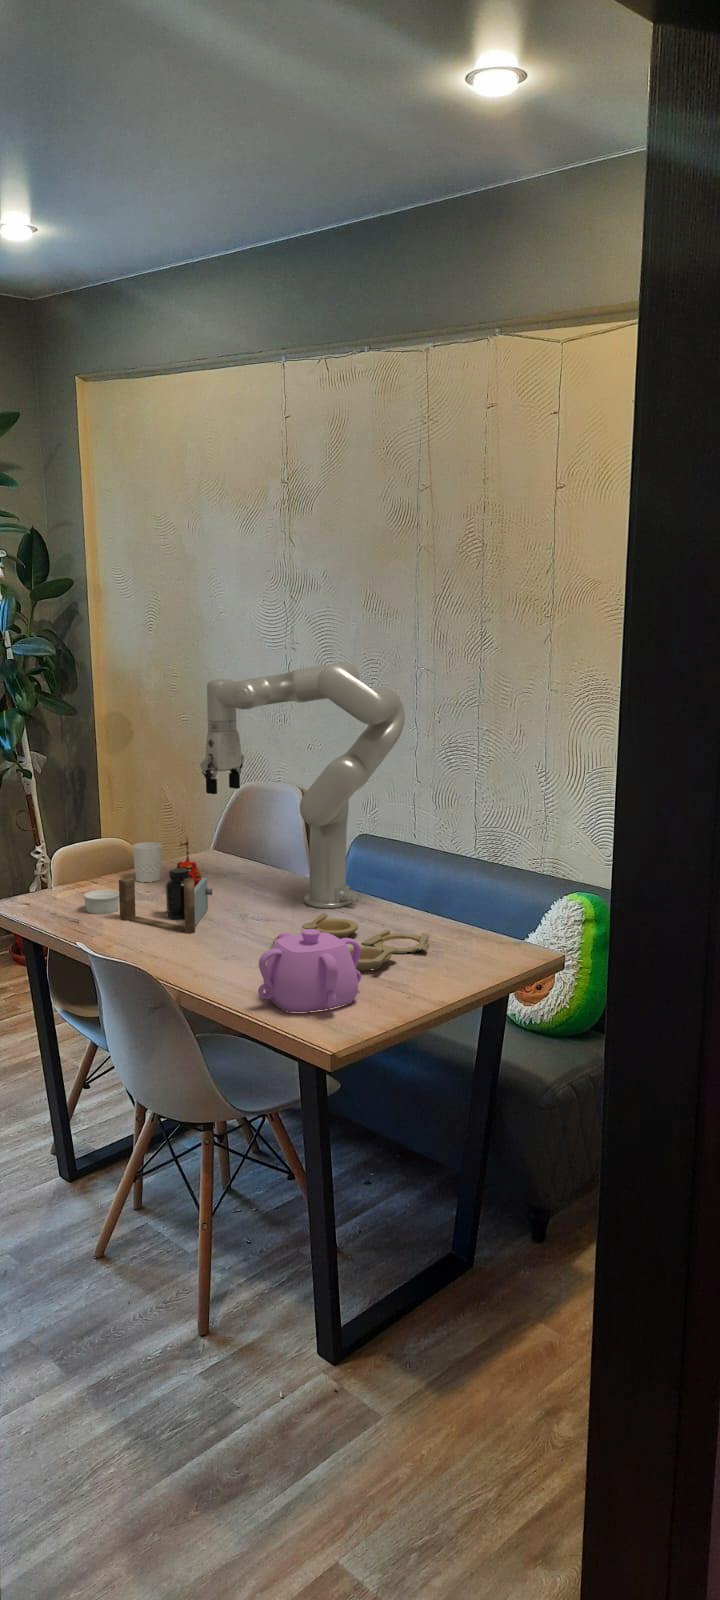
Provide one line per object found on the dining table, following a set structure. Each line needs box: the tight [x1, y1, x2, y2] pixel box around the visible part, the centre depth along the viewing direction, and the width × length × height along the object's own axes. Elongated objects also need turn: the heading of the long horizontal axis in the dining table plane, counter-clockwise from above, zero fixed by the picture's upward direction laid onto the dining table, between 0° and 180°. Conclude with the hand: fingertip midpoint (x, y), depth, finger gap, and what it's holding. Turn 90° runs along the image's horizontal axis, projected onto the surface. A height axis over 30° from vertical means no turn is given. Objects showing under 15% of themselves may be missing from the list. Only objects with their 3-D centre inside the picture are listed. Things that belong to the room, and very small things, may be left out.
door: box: [194, 877, 213, 926], centre depth 277 cm, size 17×3×8 cm, turn 176°
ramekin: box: [83, 889, 119, 915], centre depth 285 cm, size 9×9×4 cm
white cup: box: [132, 841, 162, 883], centre depth 315 cm, size 8×8×10 cm
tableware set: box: [268, 913, 430, 971], centre depth 256 cm, size 35×29×4 cm
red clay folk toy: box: [175, 837, 202, 888], centre depth 300 cm, size 8×7×15 cm
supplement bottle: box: [165, 867, 189, 921], centre depth 279 cm, size 7×7×12 cm
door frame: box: [118, 877, 196, 934], centre depth 272 cm, size 23×3×13 cm, turn 58°
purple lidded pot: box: [257, 929, 362, 1013], centre depth 224 cm, size 19×21×14 cm
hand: (223, 790), depth 297 cm, fingers open, 9 cm apart
